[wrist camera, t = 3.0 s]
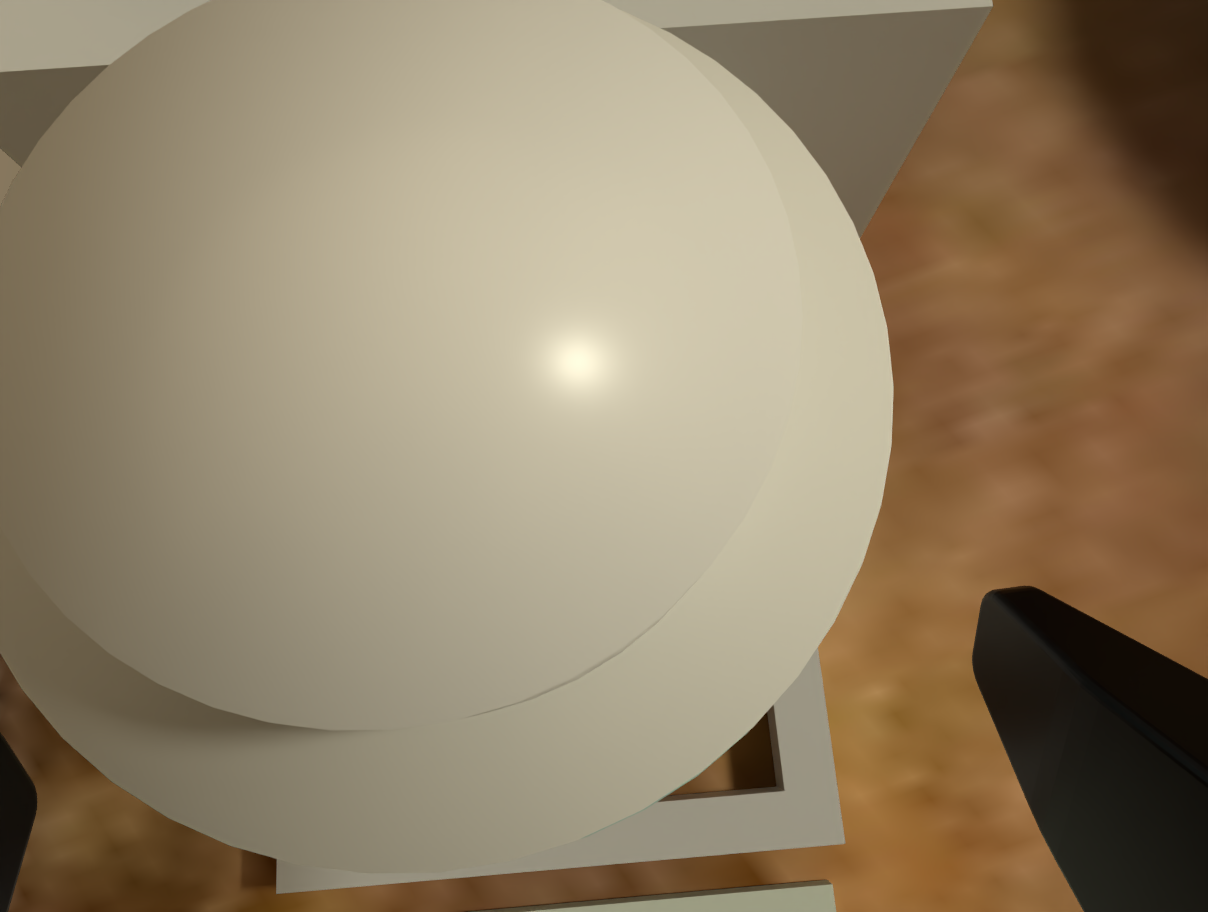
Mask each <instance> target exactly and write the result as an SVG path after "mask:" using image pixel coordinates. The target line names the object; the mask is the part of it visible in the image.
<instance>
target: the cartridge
mask: <svg viewBox="0 0 1208 912" xmlns="http://www.w3.org/2000/svg"><path fill="white" fill-rule="evenodd" d="M892 416H893V377H892V368H891V358H890V349H889V339H888V330H887V325H886V321H885V317H884V313H883V309H882V305H881V301H880V297H879V293H878V289H877V285H876V281H875V277H874V273H873V271H872V268H871V266H870V263H869V261H868V258H867V256H866V253H865V251H864V248H863V246H862V243H861V241H860V238H859V236H858V233H857V231H856V228H855V226H854V223H853V221H852V220H851V218H850V216H849V214H848V212H847V211H846V209H845V207H844V205H843V204H842V202H841V200H840V198H839V197H838V195H837V193H836V191H835V189H834V188H833V186H832V184H831V182H830V181H829V179H828V177H827V175H826V174H825V173H824V171H823V170H822V169H821V167H820V166H819V165H818V163H817V162H816V161H815V159H814V158H813V157H812V155H811V154H810V153H809V151H808V150H807V149H806V147H805V146H804V145H803V143H802V142H801V141H800V139H799V138H798V137H797V135H796V134H795V133H794V131H793V130H792V129H791V128H790V127H789V126H788V125H787V124H786V123H785V122H784V121H783V120H782V119H781V118H780V117H779V116H778V115H777V114H776V113H775V112H774V111H773V110H772V109H771V108H770V107H769V106H768V105H767V104H766V103H765V102H764V101H763V100H762V99H761V98H760V97H759V96H758V94H756V93H755V92H754V91H753V90H751V89H750V88H749V87H748V86H746V85H745V84H744V83H743V82H741V81H740V80H739V79H738V78H736V77H735V76H734V75H733V74H731V73H730V72H729V71H728V70H726V69H725V68H724V67H723V66H721V65H720V64H719V63H718V62H716V61H715V60H713V59H712V58H710V57H709V56H707V55H705V54H704V53H702V52H700V51H699V50H697V49H696V48H694V47H692V46H691V45H689V44H688V43H686V42H684V41H683V40H681V39H679V38H678V37H676V36H675V35H673V34H671V33H669V32H667V31H665V30H663V29H661V28H659V27H657V26H654V25H652V24H650V23H648V22H646V21H644V20H642V19H639V18H637V17H635V16H633V15H631V14H629V13H626V12H624V11H622V10H619V9H617V8H616V7H614V6H612V5H611V4H609V3H606V2H604V1H602V0H211V1H209V2H207V3H204V4H202V5H200V6H198V7H196V8H194V9H191V10H190V11H188V12H186V13H185V14H183V15H181V16H180V17H178V18H176V19H175V20H173V21H171V22H170V23H168V24H166V25H165V26H163V27H161V28H160V29H158V30H156V31H155V32H153V33H151V34H150V35H148V36H147V37H146V38H144V39H143V40H142V41H140V42H139V43H138V44H136V45H135V46H134V47H132V48H131V49H130V50H128V51H127V52H126V53H125V54H123V55H122V56H121V57H119V58H118V59H117V60H115V61H114V62H113V63H111V64H110V65H109V66H108V67H107V68H106V69H104V70H103V71H102V72H101V73H100V74H99V75H98V76H97V77H96V78H95V79H94V80H93V81H92V82H91V83H90V84H89V85H88V86H87V87H86V88H85V89H84V90H82V91H81V92H80V93H79V94H78V95H77V96H76V97H75V98H74V99H73V100H72V101H71V102H70V103H69V105H68V106H67V107H66V108H65V110H64V111H63V112H62V113H61V114H60V116H59V117H58V118H57V119H56V120H55V122H54V123H53V124H52V125H51V126H50V128H49V129H48V130H47V131H46V132H45V134H44V135H43V136H42V137H41V138H40V140H39V141H38V143H37V144H36V146H35V147H34V149H33V150H32V152H31V154H30V155H29V157H28V158H27V160H26V161H25V163H24V164H23V166H22V167H21V169H20V171H19V172H18V174H17V175H16V177H15V178H14V180H13V181H12V184H11V185H10V187H9V189H8V192H7V194H6V196H5V198H4V200H3V202H2V204H1V206H0V654H1V655H2V657H3V659H4V660H5V662H6V664H7V665H8V667H9V669H10V670H11V672H12V674H13V675H14V677H15V679H16V680H17V682H18V684H19V685H20V687H21V689H22V690H23V691H24V692H25V694H26V695H27V696H28V697H29V698H30V700H31V701H32V702H33V703H34V704H35V706H36V707H37V708H38V709H39V710H40V712H41V713H42V714H43V715H44V717H45V718H46V719H47V720H48V721H49V723H50V724H51V725H52V726H53V727H54V729H55V730H56V731H57V732H58V733H59V735H60V736H61V737H62V738H63V739H64V740H65V741H66V742H67V743H68V744H70V745H71V746H72V747H73V748H74V749H75V750H76V751H78V752H79V753H80V754H81V755H82V756H83V757H84V758H85V759H87V760H88V761H89V762H90V763H91V764H92V765H93V766H94V767H96V768H97V769H98V770H99V771H100V772H101V773H102V774H103V775H105V776H106V777H107V778H108V779H109V780H110V781H111V782H113V783H114V784H116V785H118V786H119V787H121V788H122V789H124V790H125V791H127V792H128V793H130V794H132V795H133V796H135V797H136V798H138V799H139V800H141V801H142V802H144V803H145V804H147V805H149V806H150V807H152V808H153V809H155V810H156V811H158V812H159V813H161V814H163V815H164V816H166V817H167V818H169V819H171V820H174V821H176V822H178V823H180V824H183V825H185V826H187V827H189V828H191V829H194V830H196V831H198V832H200V833H203V834H205V835H207V836H209V837H212V838H214V839H216V840H218V841H220V842H223V843H225V844H227V845H229V846H232V847H236V848H240V849H243V850H247V851H250V852H254V853H257V854H261V855H265V856H268V857H272V858H275V859H279V860H282V861H286V862H290V863H293V864H297V865H304V866H312V867H320V868H327V869H335V870H343V871H351V872H359V873H367V874H372V873H431V872H444V871H450V870H457V869H463V868H469V867H475V866H482V865H488V864H494V863H501V862H507V861H511V860H514V859H518V858H521V857H524V856H528V855H531V854H534V853H537V852H541V851H544V850H547V849H550V848H554V847H557V846H560V845H563V844H567V843H570V842H573V841H576V840H579V839H582V838H585V837H588V836H590V835H592V834H594V833H596V832H598V831H601V830H603V829H605V828H607V827H609V826H611V825H613V824H616V823H618V822H620V821H622V820H624V819H626V818H629V817H631V816H633V815H635V814H637V813H639V812H641V811H644V810H645V809H647V808H648V807H650V806H652V805H653V804H655V803H656V802H658V801H659V800H661V799H662V798H664V797H666V796H667V795H669V794H670V793H672V792H673V791H675V790H676V789H678V788H679V787H681V786H683V785H684V784H686V783H687V782H689V781H690V780H692V779H693V778H695V777H697V776H698V775H699V774H700V773H702V772H703V771H704V770H705V769H706V768H707V767H709V766H710V765H711V764H712V763H713V762H714V761H716V760H717V759H718V758H719V757H720V756H721V755H723V754H724V753H725V752H726V751H727V750H728V749H730V748H731V747H732V746H733V745H734V744H735V743H736V742H738V741H739V740H740V739H741V738H742V737H743V736H745V735H746V734H747V733H748V732H749V730H751V729H752V728H753V727H754V726H755V725H756V724H757V722H758V721H759V720H760V719H761V718H762V717H763V716H764V715H765V713H766V712H767V711H768V710H769V709H770V708H771V707H772V705H773V704H774V703H775V702H776V701H777V700H778V699H779V698H780V696H781V695H782V694H783V693H784V692H785V691H786V690H787V689H788V687H789V686H790V685H791V684H792V683H793V682H794V681H795V679H796V678H797V677H798V676H799V674H800V673H801V671H802V670H803V668H804V667H805V665H806V664H807V662H808V661H809V659H810V658H811V656H812V655H813V653H814V652H815V650H816V649H817V647H818V646H819V644H820V643H821V641H822V640H823V638H824V637H825V635H826V634H827V632H828V631H829V629H830V628H831V626H832V625H833V623H834V622H835V620H836V618H837V615H838V613H839V611H840V609H841V607H842V605H843V603H844V601H845V599H846V597H847V595H848V593H849V591H850V588H851V586H852V584H853V582H854V580H855V578H856V576H857V574H858V572H859V570H860V568H861V566H862V563H863V560H864V557H865V554H866V551H867V548H868V545H869V541H870V538H871V535H872V532H873V529H874V526H875V523H876V520H877V516H878V513H879V510H880V507H881V503H882V498H883V492H884V486H885V480H886V474H887V469H888V463H889V457H890V451H891V445H892Z"/></svg>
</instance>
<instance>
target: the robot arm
mask: <svg viewBox="0 0 1208 912" xmlns="http://www.w3.org/2000/svg"><path fill="white" fill-rule="evenodd" d="M972 665H973V671H974V675H975V679H976V681H977V684H978V686H979V689H980V691H981V694H982V696H983V698H984V701H985V703H986V705H987V708H988V710H989V713H990V715H991V717H992V720H993V722H994V724H995V727H996V729H997V731H998V734H999V736H1000V739H1001V741H1002V743H1003V746H1004V748H1005V750H1006V753H1007V755H1008V757H1009V760H1010V762H1011V765H1012V767H1013V769H1014V772H1015V774H1016V776H1017V779H1018V781H1019V783H1020V786H1021V788H1022V791H1023V793H1024V795H1025V798H1026V800H1027V802H1028V805H1029V807H1030V809H1031V812H1032V814H1033V816H1034V818H1035V820H1036V823H1037V825H1038V827H1039V829H1040V831H1041V833H1042V835H1043V837H1044V839H1045V841H1046V843H1047V845H1048V847H1049V849H1050V851H1051V853H1052V854H1053V856H1054V858H1055V860H1056V862H1057V864H1058V866H1059V867H1060V869H1061V871H1062V873H1063V875H1064V876H1065V878H1066V880H1067V882H1068V884H1069V885H1070V887H1071V889H1072V891H1073V893H1074V895H1075V896H1076V898H1077V900H1078V902H1079V904H1080V905H1081V907H1082V909H1083V911H1084V912H1208V679H1207V678H1205V677H1203V676H1201V675H1199V674H1197V673H1195V672H1194V671H1192V670H1190V669H1188V668H1186V667H1184V666H1182V665H1180V664H1179V663H1177V662H1175V661H1173V660H1171V659H1169V658H1167V657H1165V656H1164V655H1162V654H1160V653H1158V652H1156V651H1154V650H1152V649H1150V648H1149V647H1147V646H1145V645H1143V644H1141V643H1139V642H1137V641H1135V640H1134V639H1132V638H1130V637H1128V636H1126V635H1124V634H1122V633H1120V632H1119V631H1117V630H1115V629H1113V628H1111V627H1109V626H1107V625H1105V624H1104V623H1102V622H1100V621H1098V620H1096V619H1094V618H1092V617H1090V616H1089V615H1087V614H1085V613H1083V612H1081V611H1079V610H1077V609H1076V608H1074V607H1072V606H1070V605H1068V604H1066V603H1064V602H1062V601H1061V600H1059V599H1057V598H1055V597H1053V596H1051V595H1049V594H1047V593H1046V592H1044V591H1042V590H1040V589H1037V588H1035V587H1032V586H1018V587H1011V588H1004V589H996V590H992V591H990V592H988V593H987V594H986V595H985V596H984V598H983V599H982V603H981V607H980V613H979V619H978V624H977V630H976V636H975V642H974V648H973V655H972ZM36 811H37V793H36V789H35V785H34V783H33V781H32V780H31V778H30V777H29V775H28V774H27V772H26V771H25V769H24V767H23V766H22V764H21V763H20V761H19V760H18V758H17V757H16V755H15V753H14V752H13V750H12V749H11V747H10V746H9V744H8V743H7V741H6V739H5V738H4V736H3V735H2V734H1V733H0V912H8V910H9V906H10V903H11V899H12V896H13V892H14V889H15V885H16V882H17V878H18V875H19V872H20V868H21V865H22V861H23V858H24V854H25V851H26V847H27V844H28V840H29V837H30V833H31V830H32V826H33V823H34V819H35V816H36Z"/></svg>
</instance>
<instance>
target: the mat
mask: <svg viewBox="0 0 1208 912" xmlns="http://www.w3.org/2000/svg"><path fill="white" fill-rule="evenodd" d="M470 912H836V907H835V900H834V892H833V885H832V884H831V883H830V882H829V881H828V880H819V881H807V882H796V883H785V884H774V885H762V886H751V887H740V888H729V889H717V890H706V891H695V892H684V893H672V894H661V895H650V896H639V897H627V898H616V899H605V900H594V901H583V902H571V903H560V904H549V905H538V906H526V907H515V908H504V909H493V910H481V911H470Z"/></svg>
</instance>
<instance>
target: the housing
mask: <svg viewBox="0 0 1208 912" xmlns="http://www.w3.org/2000/svg"><path fill="white" fill-rule="evenodd" d="M209 1H211V0H0V148H1V149H2V150H3V151H4V152H5V153H6V154H7V155H8V156H9V157H11V158H12V159H13V160H14V161H15V162H16V163H17V164H18V165H19V166H21V167H22V166H23V164H24V163H25V161H26V160H27V158H28V157H29V155H30V154H31V152H32V150H33V149H34V147H35V146H36V144H37V143H38V141H39V140H40V138H41V137H42V136H43V135H44V134H45V132H46V131H47V130H48V129H49V128H50V126H51V125H52V124H53V123H54V122H55V120H56V119H57V118H58V117H59V116H60V114H61V113H62V112H63V111H64V110H65V108H66V107H67V106H68V105H69V103H70V102H71V101H72V100H73V99H74V98H75V97H76V96H77V95H78V94H79V93H80V92H81V91H82V90H84V89H85V88H86V87H87V86H88V85H89V84H90V83H91V82H92V81H93V80H94V79H95V78H96V77H97V76H98V75H99V74H100V73H101V72H102V71H103V70H104V69H106V68H107V67H108V66H109V65H110V64H111V63H113V62H114V61H115V60H117V59H118V58H119V57H121V56H122V55H123V54H125V53H126V52H127V51H128V50H130V49H131V48H132V47H134V46H135V45H136V44H138V43H139V42H140V41H142V40H143V39H144V38H146V37H147V36H148V35H150V34H151V33H153V32H155V31H156V30H158V29H160V28H161V27H163V26H165V25H166V24H168V23H170V22H171V21H173V20H175V19H176V18H178V17H180V16H181V15H183V14H185V13H186V12H188V11H190V10H191V9H194V8H196V7H198V6H200V5H202V4H204V3H207V2H209ZM602 1H604V2H606V3H609V4H611V5H612V6H614V7H616V8H617V9H619V10H622V11H624V12H626V13H629V14H631V15H633V16H635V17H637V18H639V19H642V20H644V21H646V22H648V23H650V24H652V25H654V26H657V27H659V28H661V29H663V30H665V31H667V32H669V33H671V34H673V35H675V36H676V37H678V38H679V39H681V40H683V41H684V42H686V43H688V44H689V45H691V46H692V47H694V48H696V49H697V50H699V51H700V52H702V53H704V54H705V55H707V56H709V57H710V58H712V59H713V60H715V61H716V62H718V63H719V64H720V65H721V66H723V67H724V68H725V69H726V70H728V71H729V72H730V73H731V74H733V75H734V76H735V77H736V78H738V79H739V80H740V81H741V82H743V83H744V84H745V85H746V86H748V87H749V88H750V89H751V90H753V91H754V92H755V93H756V94H758V96H759V97H760V98H761V99H762V100H763V101H764V102H765V103H766V104H767V105H768V106H769V107H770V108H771V109H772V110H773V111H774V112H775V113H776V114H777V115H778V116H779V117H780V118H781V119H782V120H783V121H784V122H785V123H786V124H787V125H788V126H789V127H790V128H791V129H792V130H793V131H794V133H795V134H796V135H797V137H798V138H799V139H800V141H801V142H802V143H803V145H804V146H805V147H806V149H807V150H808V151H809V153H810V154H811V155H812V157H813V158H814V159H815V161H816V162H817V163H818V165H819V166H820V167H821V169H822V170H823V171H824V173H825V174H826V175H827V177H828V179H829V181H830V182H831V184H832V186H833V188H834V189H835V191H836V193H837V195H838V197H839V198H840V200H841V202H842V204H843V205H844V207H845V209H846V211H847V212H848V214H849V216H850V218H851V220H852V221H853V223H854V226H855V228H856V231H857V233H858V236H859V238H860V237H861V236H862V234H863V232H864V230H865V229H866V227H867V225H868V223H869V222H870V220H871V218H872V216H873V215H874V213H875V211H876V209H877V208H878V206H879V204H880V202H881V201H882V199H883V197H884V195H885V194H886V192H887V190H888V189H889V187H890V185H891V183H892V182H893V180H894V178H895V176H896V175H897V173H898V171H899V169H900V168H901V166H902V164H903V162H904V161H905V159H906V157H907V155H908V154H909V152H910V150H911V148H912V147H913V145H914V143H915V141H916V140H917V138H918V136H919V135H920V133H921V131H922V129H923V128H924V126H925V124H926V122H927V121H928V119H929V117H930V115H931V114H932V112H933V110H934V108H935V107H936V105H937V103H938V101H939V100H940V98H941V96H942V94H943V93H944V91H945V89H946V87H947V86H948V84H949V82H950V80H951V79H952V77H953V75H954V74H955V72H956V70H957V68H958V67H959V65H960V63H961V61H962V60H963V58H964V56H965V54H966V53H967V51H968V49H969V47H970V46H971V44H972V42H973V40H974V39H975V37H976V35H977V33H978V32H979V30H980V28H981V26H982V25H983V23H984V21H985V20H986V18H987V16H988V14H989V13H990V11H991V9H992V7H993V3H992V0H602ZM767 715H768V723H769V731H770V739H771V747H772V755H773V763H774V771H775V779H776V787H764V788H753V789H741V790H729V791H718V792H706V793H695V794H683V795H672V796H666V797H664V798H662V799H661V800H659V801H658V802H656V803H655V804H653V805H652V806H650V807H648V808H647V809H645V810H644V811H641V812H639V813H637V814H635V815H633V816H631V817H629V818H626V819H624V820H622V821H620V822H618V823H616V824H613V825H611V826H609V827H607V828H605V829H603V830H601V831H598V832H596V833H594V834H592V835H590V836H588V837H585V838H582V839H579V840H576V841H573V842H570V843H567V844H563V845H560V846H557V847H554V848H550V849H547V850H544V851H541V852H537V853H534V854H531V855H528V856H524V857H521V858H518V859H514V860H511V861H507V862H501V863H494V864H488V865H482V866H475V867H469V868H463V869H457V870H450V871H444V872H431V873H372V874H367V873H359V872H351V871H343V870H335V869H327V868H320V867H312V866H304V865H297V864H293V863H290V862H286V861H282V860H279V859H277V878H276V894H281V893H292V892H304V891H315V890H326V889H338V888H349V887H360V886H372V885H383V884H394V883H406V882H417V881H428V880H440V879H451V878H462V877H474V876H485V875H497V874H508V873H519V872H531V871H542V870H553V869H565V868H576V867H587V866H599V865H610V864H621V863H633V862H644V861H655V860H667V859H678V858H690V857H701V856H712V855H724V854H735V853H746V852H758V851H769V850H780V849H792V848H803V847H814V846H826V845H837V844H845V838H844V831H843V824H842V817H841V809H840V802H839V795H838V788H837V781H836V774H835V767H834V760H833V753H832V746H831V738H830V731H829V724H828V717H827V710H826V703H825V696H824V689H823V682H822V674H821V667H820V660H819V653H818V647H817V649H816V650H815V652H814V653H813V655H812V656H811V658H810V659H809V661H808V662H807V664H806V665H805V667H804V668H803V670H802V671H801V673H800V674H799V676H798V677H797V678H796V679H795V681H794V682H793V683H792V684H791V685H790V686H789V687H788V689H787V690H786V691H785V692H784V693H783V694H782V695H781V696H780V698H779V699H778V700H777V701H776V702H775V703H774V704H773V705H772V707H771V708H770V709H769V710H768V711H767Z"/></svg>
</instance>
